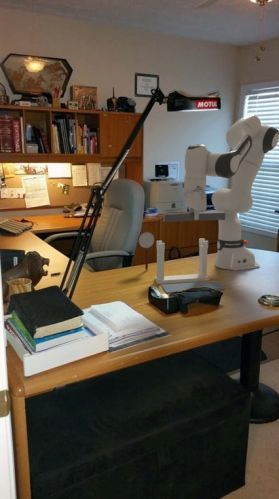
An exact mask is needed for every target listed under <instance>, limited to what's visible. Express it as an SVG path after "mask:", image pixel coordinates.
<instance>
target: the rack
mask: <svg viewBox="0 0 279 499" xmlns="http://www.w3.org/2000/svg"><path fill="white" fill-rule="evenodd" d="M165 244H166V243H165V242H163V240H156V276H154V281H155V282H156V283H157V285H160V284H161V285H164V284H179V283H193V282H208V281H210V276H208V274H207V272H208V249H209V240H206V239H205V238H199V239H198V247H199V248H198V250H199V254H198V273H192V274H180V275H179V274H178V275H175V274H174V275H165V248H166V246H165Z"/></svg>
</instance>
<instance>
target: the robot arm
mask: <svg viewBox="0 0 279 499" xmlns="http://www.w3.org/2000/svg"><path fill="white" fill-rule="evenodd" d="M225 140H226V144H227V145H228V146H229V148H231V149H232V150H231V151H229V152H212V151H210V150H208V149H207V147H206V145H205V144H201V143H200V144H199V143H198V144H192V145H189V146H188V147H187V148H186V151H185V156H184V170H185V173H184V174H185V175H184V181H183V182H182V183H181V184H182V186H181V187H182V189H183V190H182V194H183V195H182V196H183V204H184V206H186V207H189V213H194V215H193V217H194V218H193V219H194V220H198V219H199V213H200V212H206V210H207V204H208V203H207V193H206V191H205V190H207V177H213V178H214V177H215V178H216V177H217V178H223V179H230V178H232V186H231V188H220V189H217V190H215V191H214V192H213V193H212V196H211V202H212V205H213V207H214V208H215V212H225V220H217V221H218V238H217V242H216V243H217V247H216V248H217V254H216V259H215V263H214V265H213V266H214V267H216V268H218V269H223V270H224V269H225V270H230V271H234V272H235V271H245V270H251V269H257V268H260V263H259V262H258V261H256V256H255V254H254V253H253V252H252V251H251V250H250V249H249V248H247V247H246V246H247V245H248V244H249V241H248V240H246V239H242V221H241V220H240V219H239V217H238V214H245V213H248V212H249V211H250V210H251V209H252V207H253V203H254V201H253V197H252V189H253V188H252V187H253V184H254V181H255V179H256V177H257V175H258V174H259V170H260V169H261V167H262V164H263V162H264V159H265V155H266V154H268V153H269V152H270V151H272V150H274V148H276V147H277V144H278V143H279V129H278V128H276V127H273V126H269V125H267V124H264V123H262V122H261V120H260V118H259V117H258V116H257V115H255V114H247V115H245V116H242V117H241V118H240V119H238V120H237V121H236V122H234V123H233V124H232V125H231V126H230V127H229V128H228V130H227V131H226V133H225ZM245 245H246V246H245Z"/></svg>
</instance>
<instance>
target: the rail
mask: <svg viewBox="0 0 279 499" xmlns="http://www.w3.org/2000/svg"><path fill="white" fill-rule="evenodd" d="M193 215H194V213H190V212H173V213H171V212H170V213H169V212H168V213H165V212H164V213H162V221H163V222H164V223H171V222H194V221H195V222H198V221H199V222H201V221H203V222H205V221H218V220H225V212H216V211H200V213H199V219H198V220H194V219H193V218H194V217H193Z"/></svg>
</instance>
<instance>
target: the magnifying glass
mask: <svg viewBox="0 0 279 499" xmlns="http://www.w3.org/2000/svg"><path fill="white" fill-rule="evenodd" d="M155 242H156V237H155V235H154V234H153V232H151V231H146V230H145V231H143V232H141V233H140V234H139V235H138V236H137V244H138V245H139V247H140V248H142V249H144V254H145V255H144V256H145V257H144V258H145V260H144V261H145V262H144V264H145V271H146V272H147V271H148V269H149V266H148V265H149V263H148V262H149V260H148V259H149V256H148V254H149V252H148V251H149V250H148V249H150V248H152V247H153V246H154V245H155Z"/></svg>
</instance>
